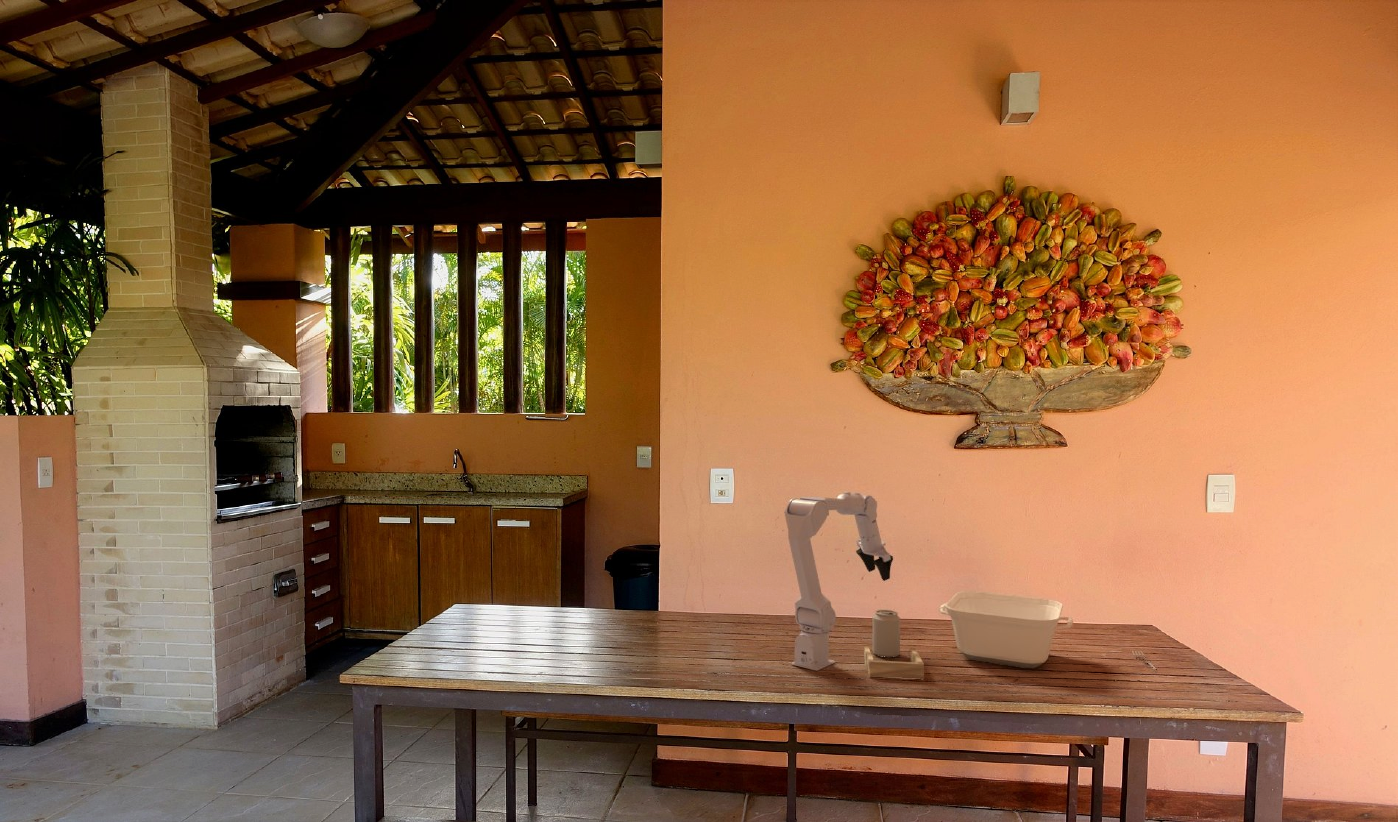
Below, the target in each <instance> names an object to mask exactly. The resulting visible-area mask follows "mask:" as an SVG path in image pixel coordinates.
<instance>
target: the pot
mask: <svg viewBox="0 0 1398 822" xmlns="http://www.w3.org/2000/svg"><path fill="white" fill-rule="evenodd" d="M1063 607H1064V604H1063V603H1062V602H1060V601H1058V600H1055V599H1049V598H1043V597H1033V596H1026V595H1016V594H1008V593H1007V594H1005V593H997V592H986V591H978V590H977V591H976V590H963V591H958V592H956V593H955V594H954V595H953V596H952V597H951V598H950V599H949V600H948V601H947V602H944V603H943V604H942V605H940V607H939V613H940V614H942V615H947V616H949V617H950V619H951V624H952V629H953V633H954V639H955V644H956V647H957V650H958V651H959V652H960V653H961V654H962V655H963V656H964V657H965V658H967V659H969V660H970V659H971V661H974V660H975V661H974V662H978V661H983V662H982V663H985V662H989V663H988V664H992V663H997V664H996V665H999V664H1002V665H1001V666H1006V665H1008V667H1012V666H1017V667H1016V668H1019V667H1023V668H1022V669H1026V668H1032V669H1035V668H1038V667H1040V666H1042V665H1043V664H1044V663H1045V662H1047V660H1048V658H1049V654H1050V651H1051V648H1052V643H1053V639H1054V636H1055V632H1056V631H1057V630H1058V629H1063V630H1066V629H1071V628H1072V627H1073V624H1074V620H1073V618H1072V617H1069V616H1062V617H1061V615H1062V610H1063ZM1061 620H1062V621H1067V623H1066V625H1059V626H1058V624H1059V621H1061Z"/></svg>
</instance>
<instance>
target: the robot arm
mask: <svg viewBox="0 0 1398 822" xmlns="http://www.w3.org/2000/svg"><path fill="white" fill-rule="evenodd" d="M877 509H878V501H877V500H876V499H875V498H874V497H873V496H872V495H867V494H861V493H859V492H855V493H852V492H849V491H844V492H843V493H841V494H838V496H837V497H836V498H835V497H823V496H822V497H821V496H803V497H799V498H797V497H793V498H791V499H790V500H788V503H787V505H786V507H785V509H784V513H783V514H784V517H785V521H786V526H787V532H788V533H787V535H788V537H787V539H788V541H789V546H790V552H791V556H792V560H793V565H794V571H795V574H796V579H797V584H798V587H799V593H800V596H799V597H798V598H797V599H796V600H795V602H794V606H795V607H794V608H795V611H794V617H795V618H794V619H795V622H796V623H797V625H799V629H800V630H801V631H800V633H799V635H798V636H796V638H795V640H794V654H793V655H794V656H793V657H794V660H793V661H792V662H791V665H792V666H797V667H800V668H804V669H807V670H812V671H817V672H818V671H820V670H822V669H824V668H826V667H828V666H831V665H833V664H835V663H836V661H835V660H834V659H833V660H832V659H829V657H830V654H829V653H830V648H829V645H830V637H829V636H830V632H832V630H833V628H834V627H835V624H836V621H837V615H836V612H835V610H834V608H833V607H832V603H831V601H830V599H829V598H827V596H825V595H824V594H823V593H822V590H821V589H822V588H821V585H820V579H819V575H818V569H817V565H816V559H815V556H814V550H813V546H812V543H811V539H812V537H815V536H817V533H818V532H819V531H820V530H821V528H822V526H823V525H824V523H825V522H826V520H827V518H828V516H829V515H830V511H836V512H837V513H838V514H839V515H844V516H845V515H847V516H849V515H850V516H854V518H855V522H856V527H857V531H858V535H859V539H857V540H856V545H857V547H858V549H857V550H855V552H856V554H857V555H858V556H859V557H860V559H861V561H862V563H863V564H864V565H865V568H866V570H867V571H868V572H869V573H871V572H873V571H875V570H876V568H877V570H878V572H879V575H880V578H881V580H882V581H883V582H886V581H888V580H889V579H890V578H891V568H892V567H891V566H892V563H893V561H894V556H893V555H891V554H890V552H888V551H887V550H886V547H885V546H886V542H885V541H883V540H882V539H881V534H880V529H879V525H878V521H877V518H878V513H877ZM875 557H878V558H876V559H875Z"/></svg>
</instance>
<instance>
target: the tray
mask: <svg viewBox="0 0 1398 822" xmlns="http://www.w3.org/2000/svg"><path fill="white" fill-rule="evenodd" d="M909 652H910V653H909V657H910V658H909V659H910V661H892V660H891V661H889V660H874V657H873V654H872V653H871V650H870V647H869V646H865V645H864V646H863V663H864V662H865V663H864V666H865V665H866V666H865V669H866V668H867V669H866V672H867V671H868V672H867V674H869V675H868V677H902V678H920V679H924V680H925V663H924V662H923V660H922V658H921V656H920V655H919V653H918V651H917V650H916V648H914V647H913V648H911V647H910V649H909Z"/></svg>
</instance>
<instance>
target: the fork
mask: <svg viewBox="0 0 1398 822" xmlns="http://www.w3.org/2000/svg"><path fill="white" fill-rule="evenodd" d="M1134 651H1135V652H1134ZM1131 652H1132V654H1133V656H1134V655H1136V656H1137V655H1139V656H1140V655H1142V656H1143V655H1144V656H1145V654H1144V653H1143V651H1142V650H1140V651H1139V650H1132V649H1131ZM1144 656H1143V657H1144ZM1145 657H1146V656H1145ZM1145 662H1146V663H1145V664H1147V663H1148V665H1149V666H1150V667H1151V668H1152V667H1153V668H1152V670H1153V669H1157V667H1156V666H1154V665H1153V663H1151V662H1149V661H1145Z"/></svg>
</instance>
